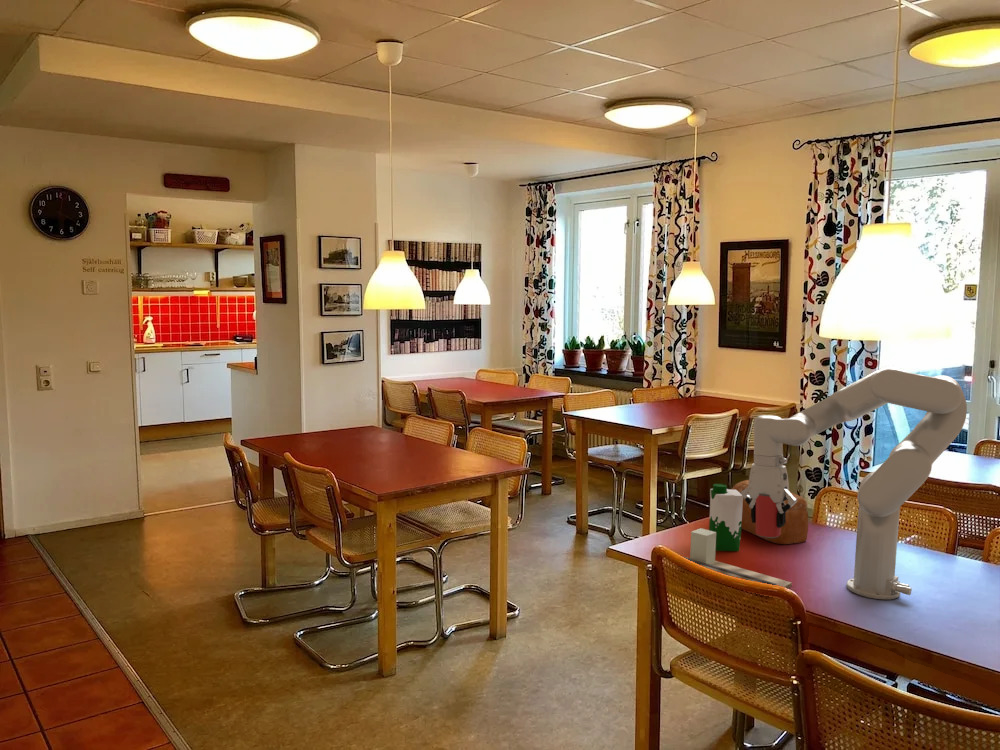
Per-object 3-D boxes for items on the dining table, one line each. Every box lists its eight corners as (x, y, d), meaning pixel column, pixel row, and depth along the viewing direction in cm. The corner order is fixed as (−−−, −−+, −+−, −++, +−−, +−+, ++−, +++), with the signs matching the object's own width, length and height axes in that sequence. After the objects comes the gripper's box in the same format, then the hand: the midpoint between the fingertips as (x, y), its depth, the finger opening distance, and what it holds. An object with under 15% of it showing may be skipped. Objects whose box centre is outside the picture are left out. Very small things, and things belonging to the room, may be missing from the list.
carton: (714, 563, 216) (716, 532, 215) (705, 567, 212) (707, 535, 212) (699, 558, 219) (700, 528, 219) (689, 562, 216) (691, 531, 215)
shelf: (791, 586, 202) (792, 575, 202) (774, 596, 195) (774, 584, 195) (698, 559, 222) (698, 549, 222) (679, 567, 215) (679, 556, 215)
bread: (776, 546, 235) (779, 496, 233) (722, 522, 259) (725, 477, 258) (811, 542, 240) (814, 493, 239) (755, 519, 264) (757, 474, 263)
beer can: (784, 534, 212) (784, 492, 211) (774, 540, 207) (774, 496, 206) (761, 530, 216) (761, 488, 215) (751, 535, 212) (751, 493, 211)
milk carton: (705, 545, 235) (708, 481, 233) (734, 545, 235) (738, 482, 233) (712, 554, 226) (715, 488, 224) (743, 555, 226) (746, 489, 224)
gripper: (805, 462, 207) (804, 527, 208) (745, 454, 219) (745, 516, 220) (792, 466, 201) (792, 532, 203) (732, 458, 214) (732, 521, 215)
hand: (768, 523), depth 212 cm, fingers closed on beer can, 6 cm apart
